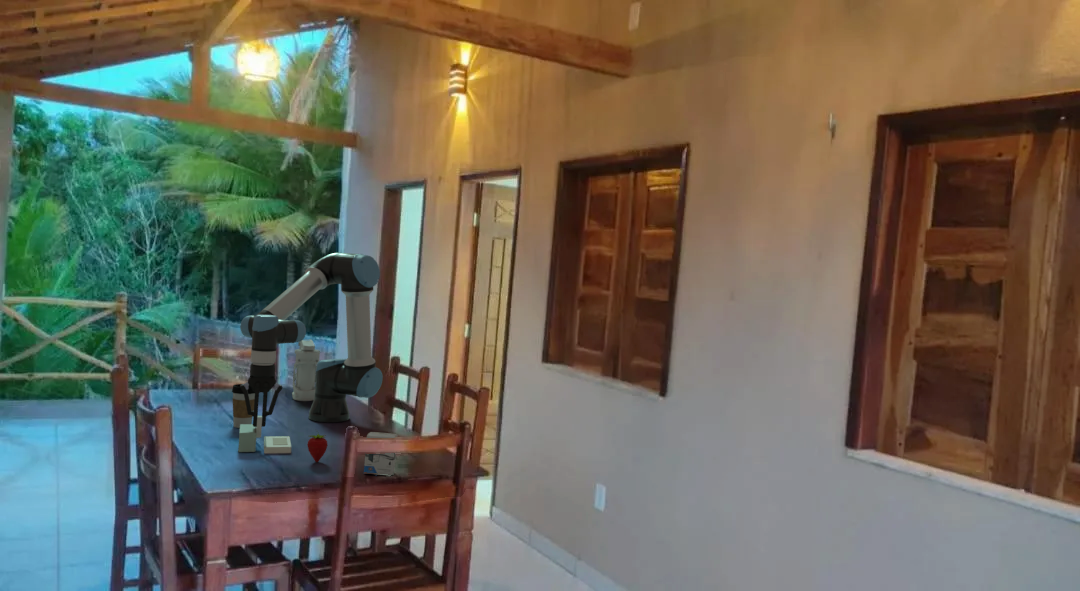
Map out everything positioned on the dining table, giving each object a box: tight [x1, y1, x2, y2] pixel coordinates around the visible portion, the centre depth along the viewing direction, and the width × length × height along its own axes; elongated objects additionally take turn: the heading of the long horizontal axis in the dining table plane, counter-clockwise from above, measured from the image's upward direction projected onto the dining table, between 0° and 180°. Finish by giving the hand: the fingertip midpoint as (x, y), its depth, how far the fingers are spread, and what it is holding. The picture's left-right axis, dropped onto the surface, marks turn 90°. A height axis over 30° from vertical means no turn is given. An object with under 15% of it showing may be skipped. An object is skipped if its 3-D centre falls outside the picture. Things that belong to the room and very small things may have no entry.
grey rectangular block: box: [238, 423, 257, 453], centre depth 243 cm, size 5×12×6 cm, turn 20°
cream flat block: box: [263, 435, 292, 454], centre depth 246 cm, size 8×14×2 cm, turn 20°
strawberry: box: [307, 429, 328, 463], centre depth 233 cm, size 6×8×10 cm
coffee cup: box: [231, 383, 255, 429], centre depth 271 cm, size 8×8×15 cm
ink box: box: [363, 431, 398, 475], centre depth 226 cm, size 9×5×12 cm, turn 92°
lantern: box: [291, 338, 321, 402], centre depth 330 cm, size 13×10×25 cm
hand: (258, 436), depth 244 cm, fingers closed
